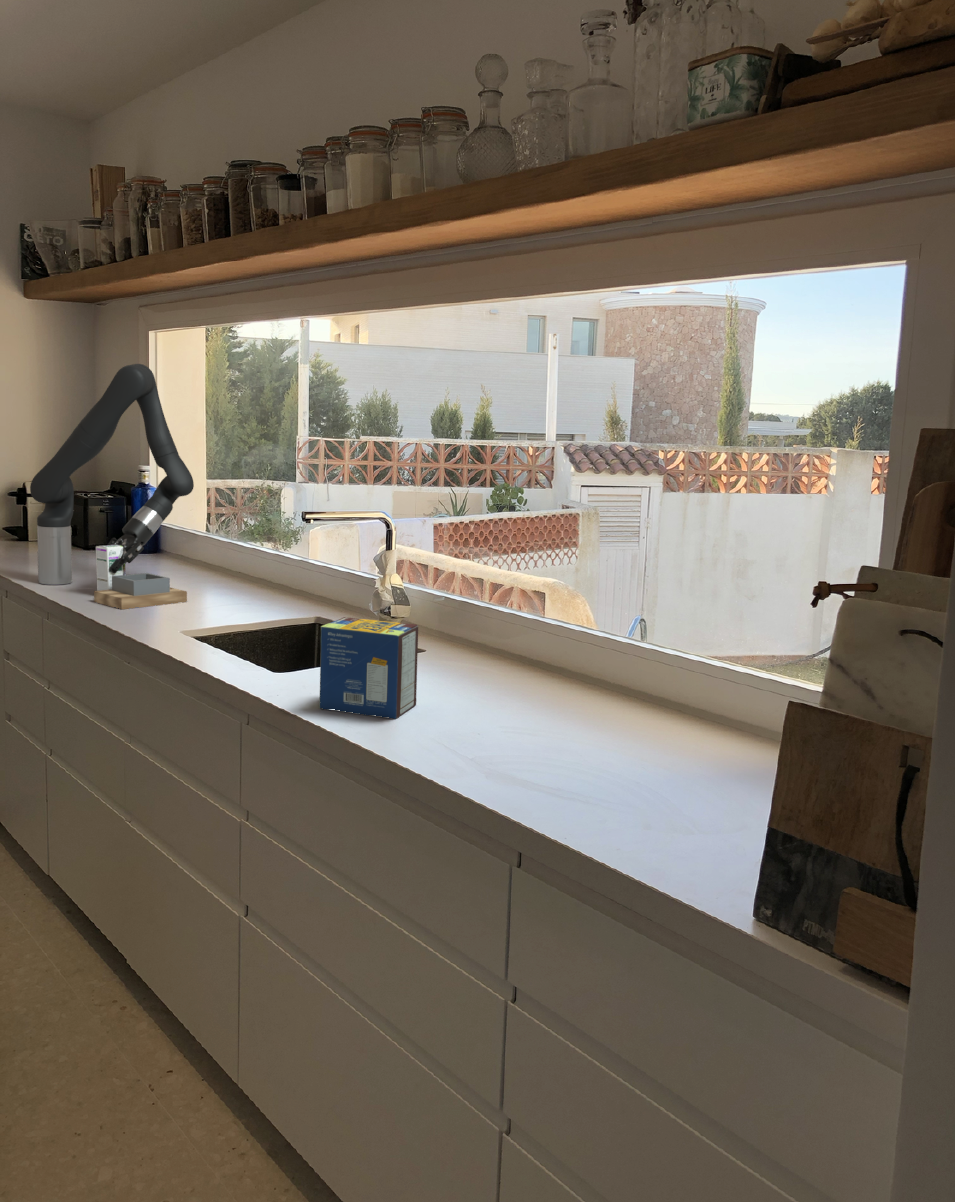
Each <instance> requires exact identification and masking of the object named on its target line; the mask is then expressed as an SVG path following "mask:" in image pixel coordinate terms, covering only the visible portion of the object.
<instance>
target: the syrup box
mask: <svg viewBox="0 0 955 1202" xmlns="http://www.w3.org/2000/svg"><path fill="white" fill-rule="evenodd" d="M122 548H123V546H121V545H108V544H107V545H96V546H95V557H96V560H95V564H96V589H97V590H96V591H100V590H111V589H112V576H118V575H127V574H126V564H123V565H122V566H121V567H120V568H119V570H118V571H117V572H116V573H112V572H111V571H110V570H109V567H110V566H111V565H112V564H113V562H114V561H115V560H116V559H118V556H119V554H120V551H121V549H122ZM123 556H124V555H123Z"/></svg>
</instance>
